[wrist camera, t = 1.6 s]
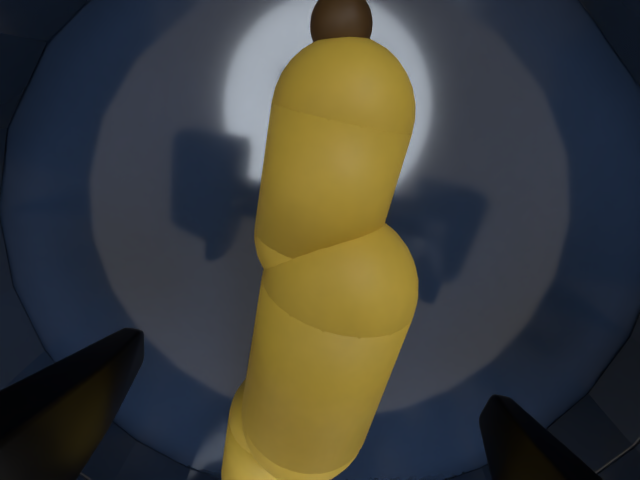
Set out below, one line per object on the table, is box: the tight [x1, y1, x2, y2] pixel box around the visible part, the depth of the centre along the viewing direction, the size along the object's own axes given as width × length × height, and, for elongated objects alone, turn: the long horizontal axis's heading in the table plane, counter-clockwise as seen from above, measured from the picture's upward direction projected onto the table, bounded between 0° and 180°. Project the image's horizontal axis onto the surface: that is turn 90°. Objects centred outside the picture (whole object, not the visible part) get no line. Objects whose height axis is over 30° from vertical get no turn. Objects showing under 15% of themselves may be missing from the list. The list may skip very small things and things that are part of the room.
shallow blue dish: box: [0, 0, 640, 480], centre depth 9 cm, size 21×21×4 cm
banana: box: [221, 0, 418, 480], centre depth 9 cm, size 16×4×4 cm, turn 168°
